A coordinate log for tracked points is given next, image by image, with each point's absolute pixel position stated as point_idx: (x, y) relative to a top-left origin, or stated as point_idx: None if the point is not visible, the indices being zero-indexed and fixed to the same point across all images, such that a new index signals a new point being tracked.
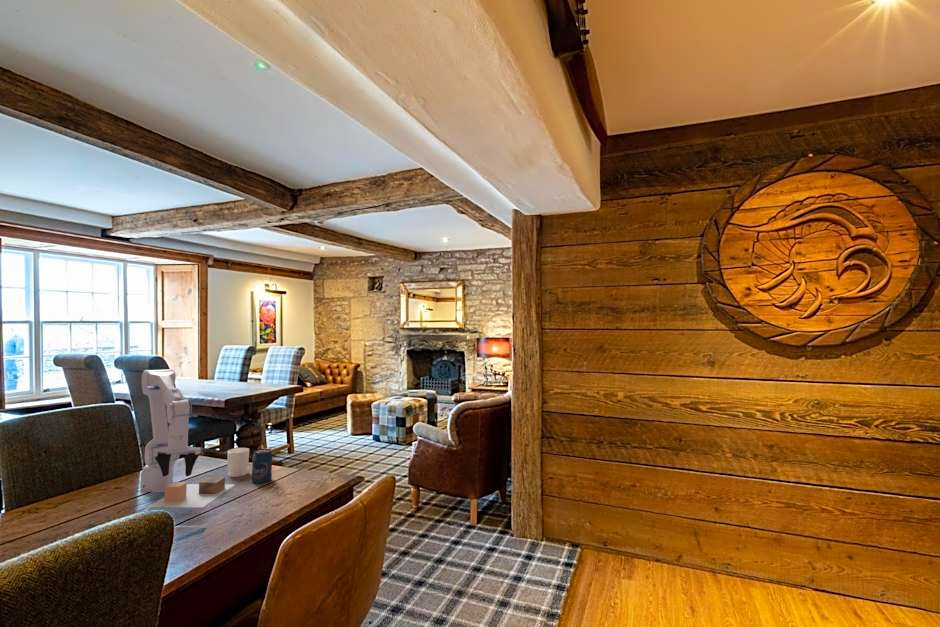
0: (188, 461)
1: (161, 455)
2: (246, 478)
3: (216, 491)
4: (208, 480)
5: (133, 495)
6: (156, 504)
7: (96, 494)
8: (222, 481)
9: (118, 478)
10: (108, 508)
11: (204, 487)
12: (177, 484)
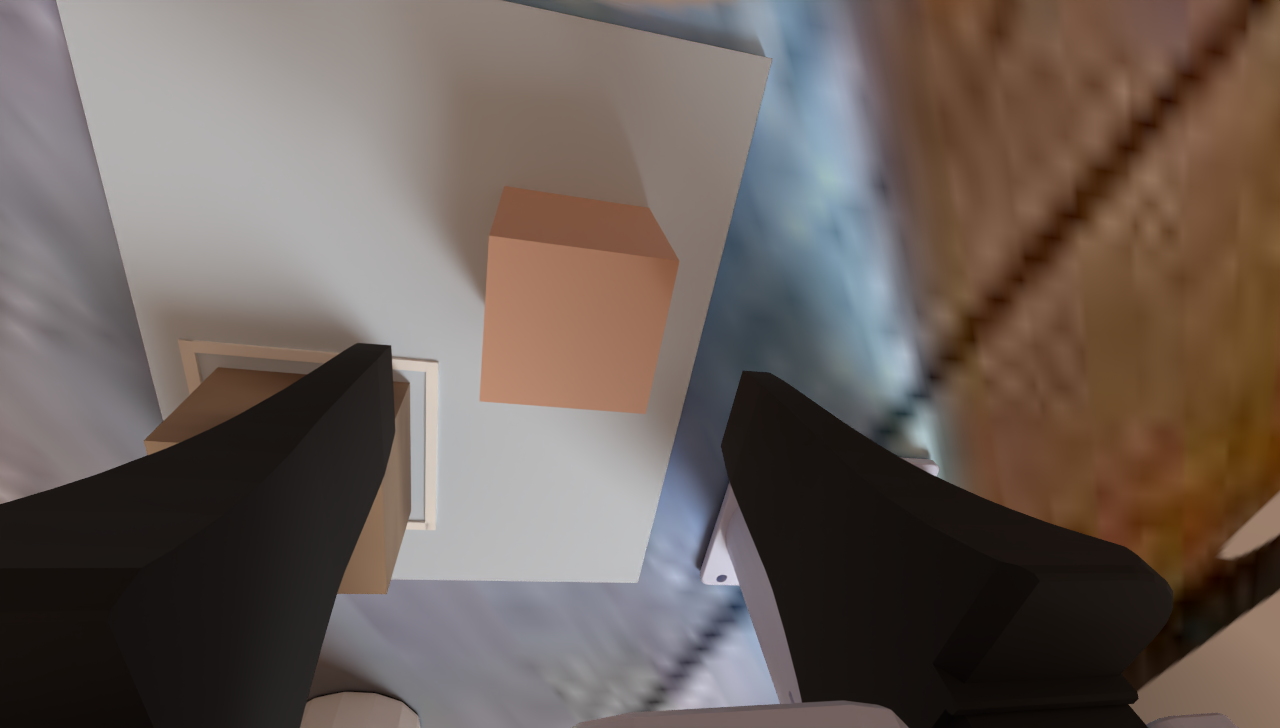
0: (108, 495)
1: (1040, 701)
2: None
3: (206, 386)
4: None
5: (954, 412)
6: (698, 131)
7: (1183, 444)
8: None
9: None
10: (1098, 134)
11: None
12: (555, 328)
